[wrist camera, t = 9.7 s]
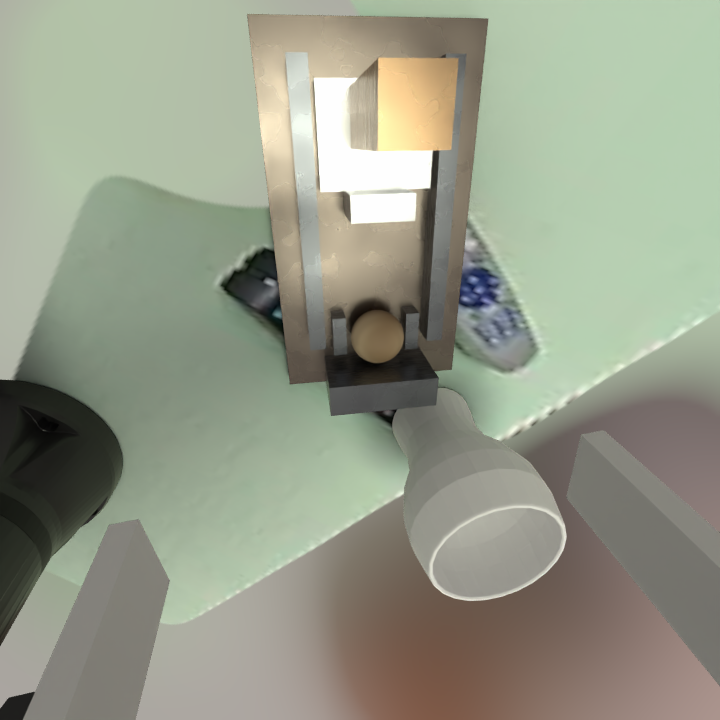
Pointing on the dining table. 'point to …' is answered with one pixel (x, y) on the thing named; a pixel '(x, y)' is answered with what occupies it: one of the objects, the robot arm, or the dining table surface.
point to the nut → (377, 336)
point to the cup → (473, 504)
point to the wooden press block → (384, 134)
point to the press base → (363, 240)
